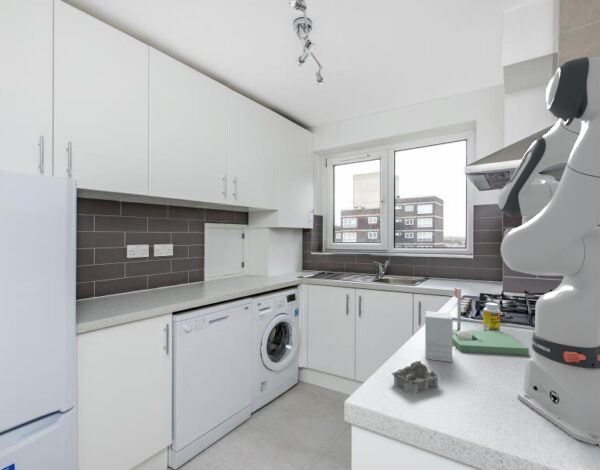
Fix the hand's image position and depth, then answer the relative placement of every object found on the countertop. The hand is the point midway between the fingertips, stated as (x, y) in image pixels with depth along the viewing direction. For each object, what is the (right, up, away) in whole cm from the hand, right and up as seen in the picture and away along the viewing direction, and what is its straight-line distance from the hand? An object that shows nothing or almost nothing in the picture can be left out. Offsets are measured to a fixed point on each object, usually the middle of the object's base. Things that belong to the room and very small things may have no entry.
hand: (539, 272), depth 99 cm
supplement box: (-33, -25, -4) cm, 42 cm away
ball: (-19, -23, +8) cm, 31 cm away
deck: (-14, -25, +8) cm, 30 cm away
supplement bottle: (-2, -25, +21) cm, 33 cm away
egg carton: (-47, -26, -21) cm, 57 cm away
